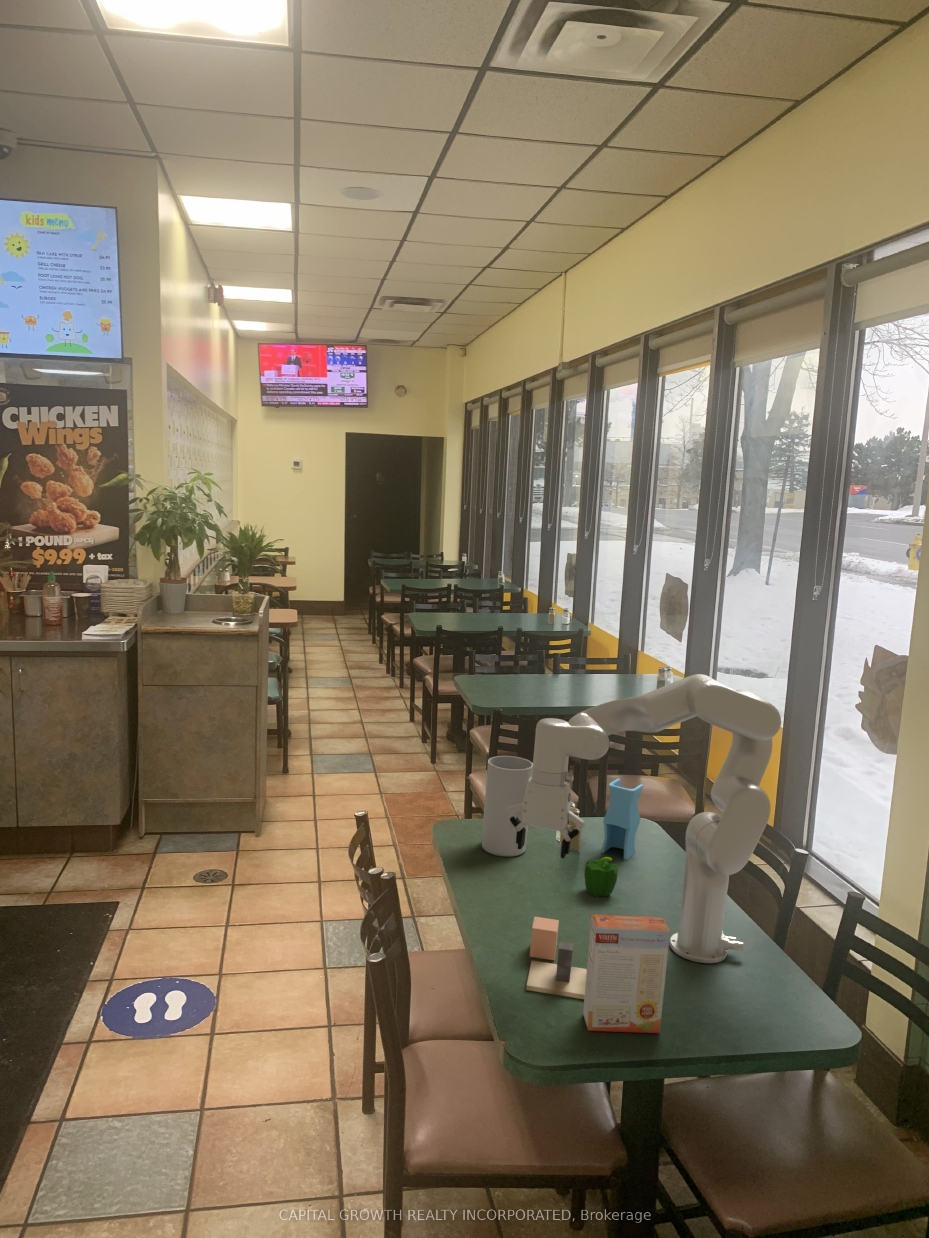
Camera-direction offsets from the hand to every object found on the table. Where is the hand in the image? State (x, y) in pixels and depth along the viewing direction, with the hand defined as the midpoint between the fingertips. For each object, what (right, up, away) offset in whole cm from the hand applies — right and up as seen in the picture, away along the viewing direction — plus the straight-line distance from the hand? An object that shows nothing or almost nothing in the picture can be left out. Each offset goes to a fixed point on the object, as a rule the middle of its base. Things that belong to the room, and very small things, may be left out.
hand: (542, 851), depth 195 cm
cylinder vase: (-6, -14, +56) cm, 58 cm away
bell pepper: (+17, -19, +32) cm, 41 cm away
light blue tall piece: (+27, -16, +60) cm, 67 cm away
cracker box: (+13, -27, -24) cm, 38 cm away
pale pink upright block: (0, -22, +1) cm, 22 cm away
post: (+3, -24, -11) cm, 27 cm away
